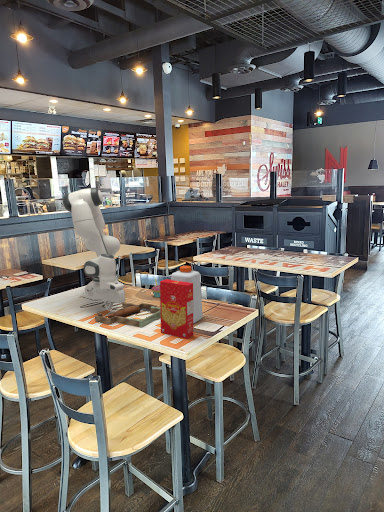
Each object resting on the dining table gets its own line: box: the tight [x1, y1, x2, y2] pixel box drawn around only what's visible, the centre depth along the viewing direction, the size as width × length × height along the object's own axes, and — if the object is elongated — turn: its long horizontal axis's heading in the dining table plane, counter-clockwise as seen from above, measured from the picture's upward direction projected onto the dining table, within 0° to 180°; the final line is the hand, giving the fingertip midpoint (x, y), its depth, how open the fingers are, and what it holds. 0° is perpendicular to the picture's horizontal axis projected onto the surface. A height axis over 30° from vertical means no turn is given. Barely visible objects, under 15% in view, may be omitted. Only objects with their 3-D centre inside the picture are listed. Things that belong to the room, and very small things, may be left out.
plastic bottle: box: [170, 265, 204, 325], centre depth 198 cm, size 15×15×28 cm
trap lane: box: [94, 301, 161, 328], centre depth 204 cm, size 28×30×3 cm
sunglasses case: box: [105, 306, 141, 318], centre depth 207 cm, size 18×7×7 cm
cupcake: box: [150, 277, 160, 298], centre depth 242 cm, size 9×8×12 cm
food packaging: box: [159, 278, 194, 340], centre depth 178 cm, size 15×5×25 cm, turn 58°
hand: (108, 308), depth 210 cm, fingers closed
